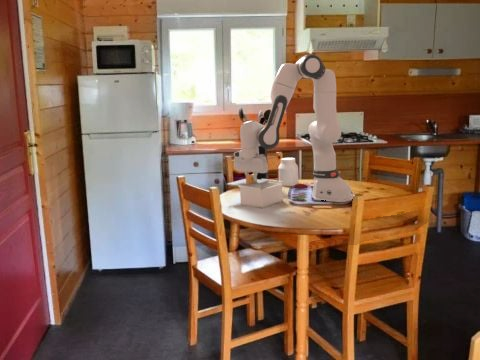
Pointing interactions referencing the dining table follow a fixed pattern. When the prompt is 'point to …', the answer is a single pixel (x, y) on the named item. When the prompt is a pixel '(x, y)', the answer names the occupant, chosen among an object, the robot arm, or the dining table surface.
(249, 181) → the lid
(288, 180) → the jar
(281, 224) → the dining table surface
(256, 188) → the carton
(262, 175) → the black tall block
